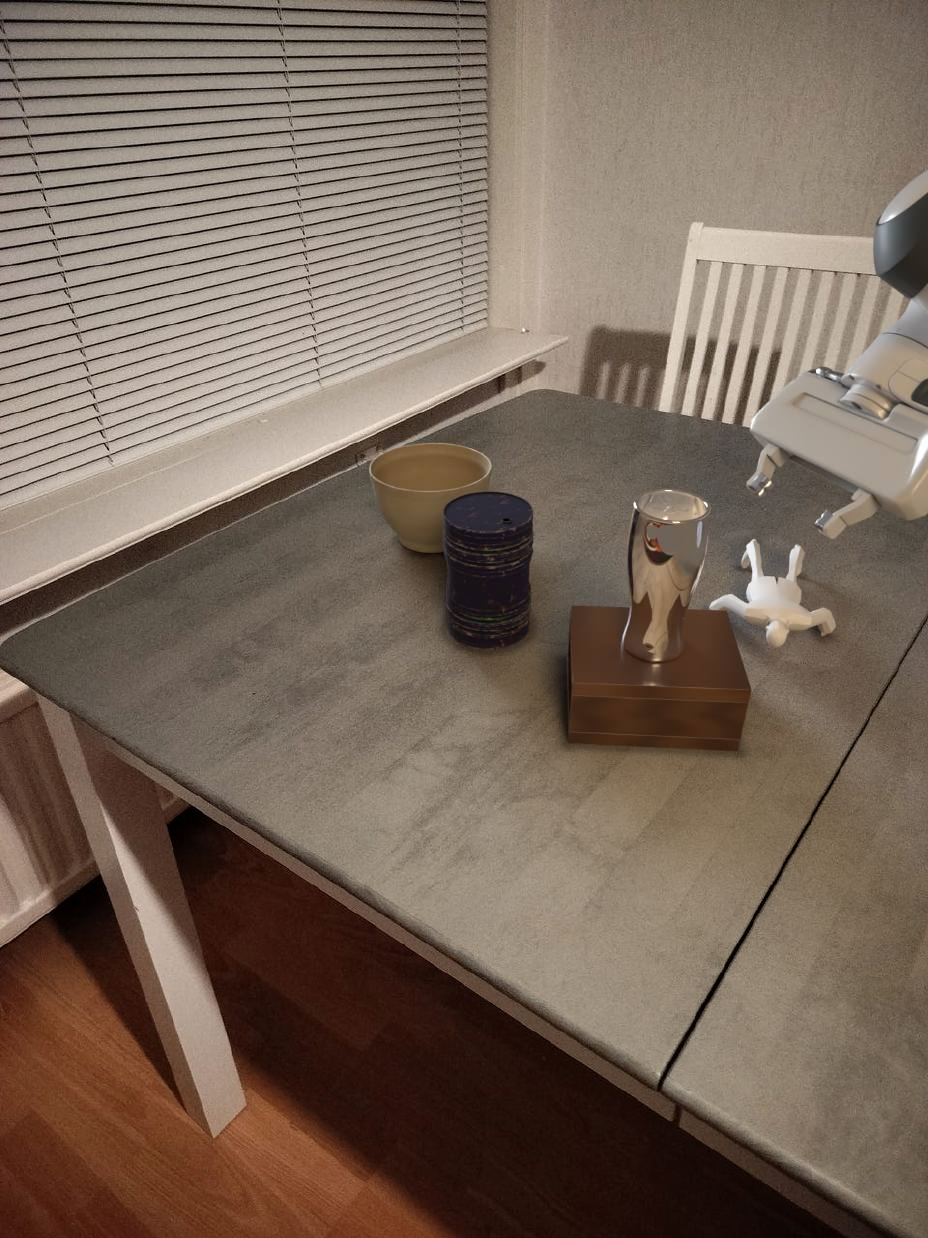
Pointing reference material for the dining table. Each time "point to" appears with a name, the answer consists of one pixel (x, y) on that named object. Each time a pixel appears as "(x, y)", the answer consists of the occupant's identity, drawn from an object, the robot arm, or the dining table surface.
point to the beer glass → (663, 570)
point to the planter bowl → (425, 488)
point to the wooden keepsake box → (655, 685)
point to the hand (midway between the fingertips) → (786, 511)
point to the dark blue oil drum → (488, 568)
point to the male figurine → (775, 600)
